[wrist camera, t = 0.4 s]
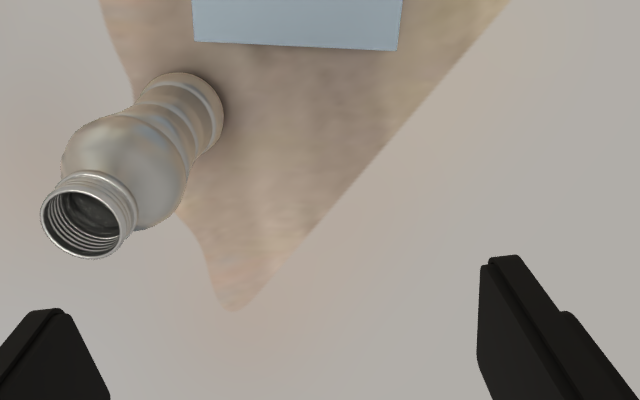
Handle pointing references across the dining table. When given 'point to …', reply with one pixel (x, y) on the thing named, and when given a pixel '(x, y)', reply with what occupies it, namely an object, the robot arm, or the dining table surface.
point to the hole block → (300, 23)
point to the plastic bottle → (131, 166)
